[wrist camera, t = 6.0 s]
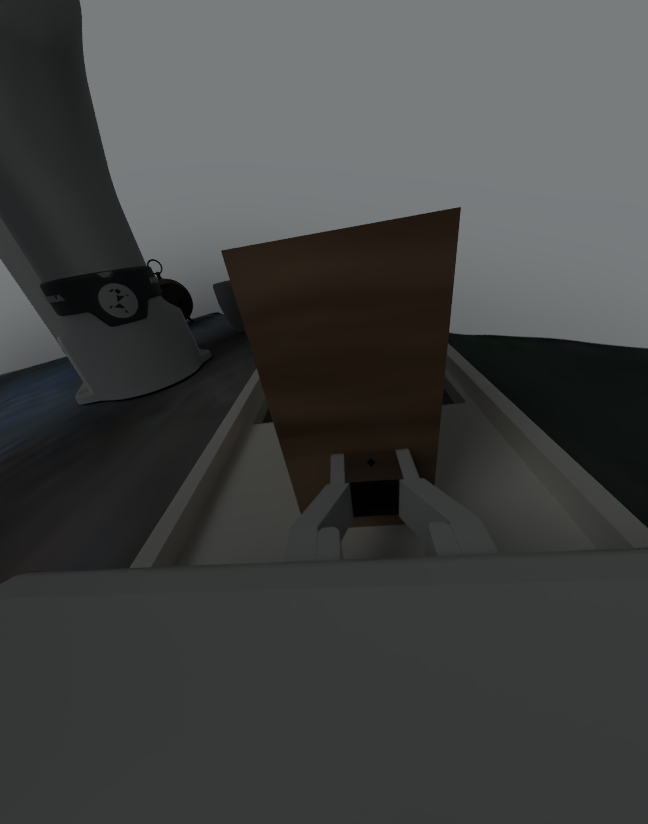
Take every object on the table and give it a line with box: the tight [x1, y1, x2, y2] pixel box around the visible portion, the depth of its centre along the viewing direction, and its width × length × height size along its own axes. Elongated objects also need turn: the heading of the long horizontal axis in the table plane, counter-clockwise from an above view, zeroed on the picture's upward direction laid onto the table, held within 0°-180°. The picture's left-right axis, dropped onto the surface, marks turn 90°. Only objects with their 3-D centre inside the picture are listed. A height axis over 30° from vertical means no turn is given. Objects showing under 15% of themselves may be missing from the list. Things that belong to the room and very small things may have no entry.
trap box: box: [130, 344, 648, 568], centre depth 24 cm, size 36×20×4 cm, turn 178°
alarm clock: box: [147, 259, 194, 322], centre depth 69 cm, size 11×5×16 cm, turn 136°
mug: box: [213, 280, 246, 332], centre depth 58 cm, size 12×9×10 cm
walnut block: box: [221, 207, 461, 528], centre depth 16 cm, size 14×6×12 cm, turn 179°
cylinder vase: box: [0, 217, 63, 345], centre depth 53 cm, size 12×12×25 cm
